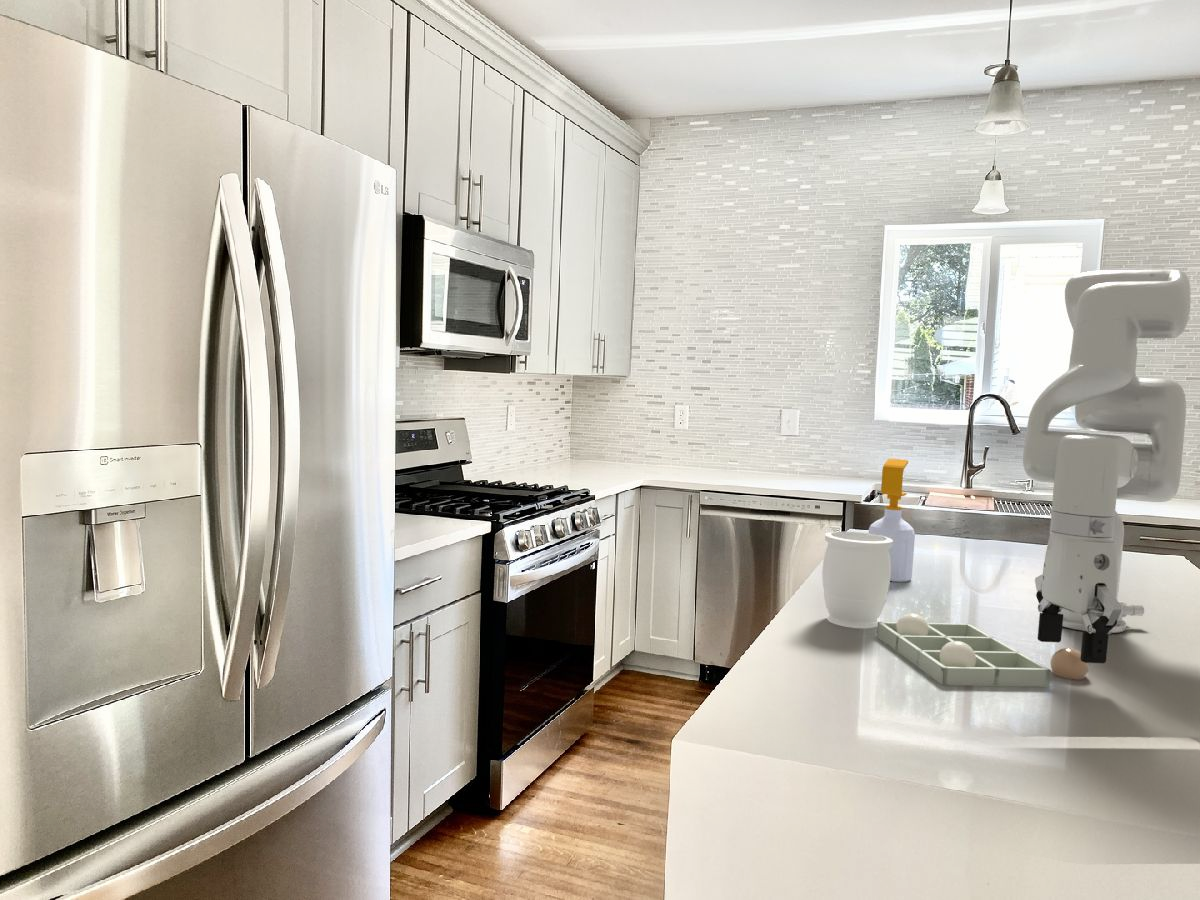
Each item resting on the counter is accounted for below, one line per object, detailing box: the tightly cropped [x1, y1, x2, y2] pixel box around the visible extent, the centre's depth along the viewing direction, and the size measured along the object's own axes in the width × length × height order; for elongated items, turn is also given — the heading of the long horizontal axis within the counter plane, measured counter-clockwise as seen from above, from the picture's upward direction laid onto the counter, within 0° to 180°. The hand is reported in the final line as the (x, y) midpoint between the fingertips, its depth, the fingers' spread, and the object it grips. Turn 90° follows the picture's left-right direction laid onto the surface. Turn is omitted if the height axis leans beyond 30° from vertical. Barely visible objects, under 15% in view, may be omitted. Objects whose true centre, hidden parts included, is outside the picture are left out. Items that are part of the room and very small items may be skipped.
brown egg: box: [1049, 647, 1089, 680], centre depth 122 cm, size 5×5×5 cm
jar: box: [821, 531, 893, 629], centre depth 144 cm, size 11×10×15 cm
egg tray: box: [876, 621, 1052, 688], centre depth 127 cm, size 15×22×3 cm
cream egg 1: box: [896, 612, 929, 636], centre depth 133 cm, size 5×5×5 cm
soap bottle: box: [868, 458, 916, 583], centre depth 184 cm, size 9×9×25 cm
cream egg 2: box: [939, 641, 976, 667], centre depth 119 cm, size 5×5×5 cm
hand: (1070, 651), depth 121 cm, fingers open, 9 cm apart
